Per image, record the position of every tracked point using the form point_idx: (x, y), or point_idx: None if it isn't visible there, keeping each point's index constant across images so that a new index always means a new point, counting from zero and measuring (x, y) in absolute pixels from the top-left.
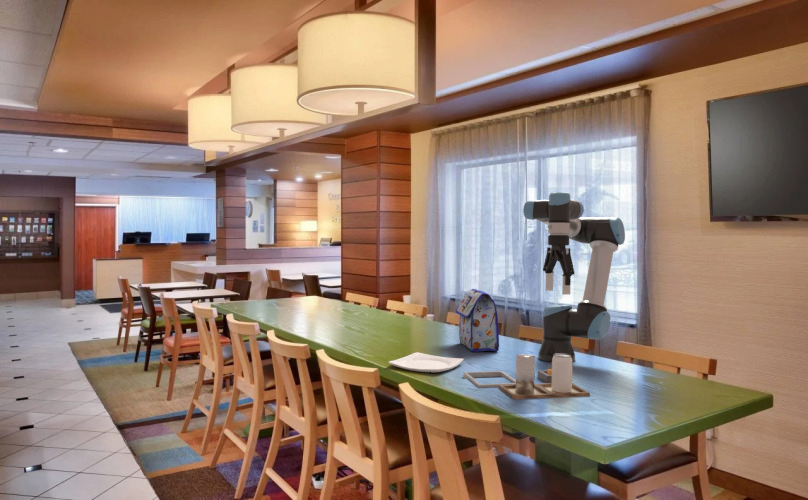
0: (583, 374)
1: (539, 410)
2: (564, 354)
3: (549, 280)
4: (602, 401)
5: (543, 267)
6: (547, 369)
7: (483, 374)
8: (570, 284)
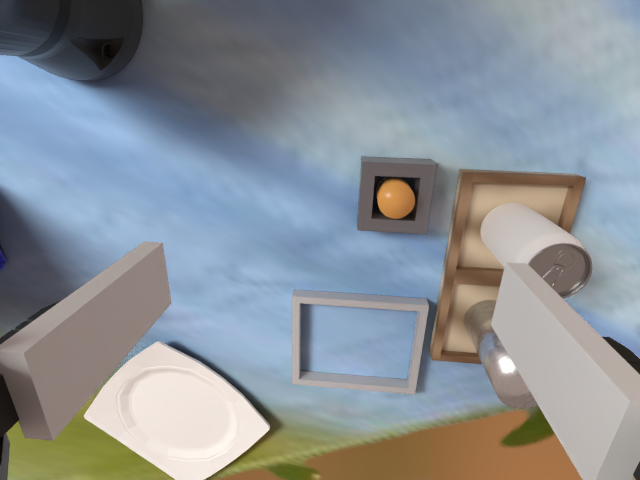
0: (314, 27)
1: (599, 334)
2: (538, 251)
3: (109, 337)
4: (611, 151)
5: None
6: (384, 214)
7: (300, 340)
8: (582, 319)
